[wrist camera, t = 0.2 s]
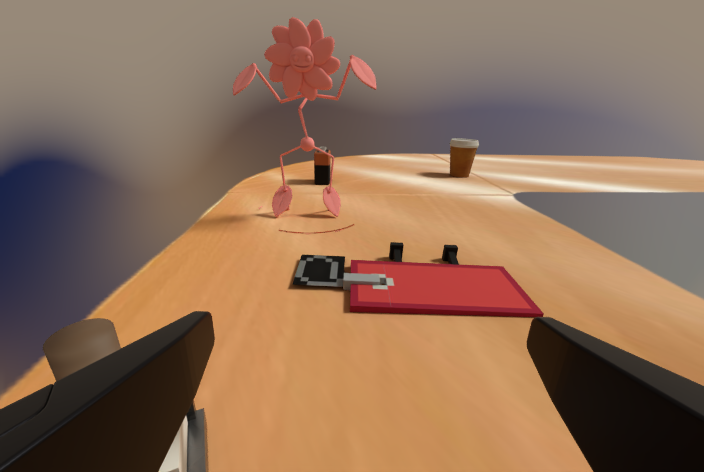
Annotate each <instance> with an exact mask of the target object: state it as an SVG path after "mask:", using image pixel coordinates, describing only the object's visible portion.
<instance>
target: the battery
mask: <svg viewBox="0 0 704 472" xmlns="http://www.w3.org/2000/svg"><path fill="white" fill-rule="evenodd" d="M319 149H321V150H323V151H325V152H327V153H328V154H330V150H325V149H326V147H320V148H319ZM314 173H315V184H319V185H328V184H329V183H330V156H328V155H326V154H325V153H323V152H321V151H319V150H316V152H315V153H314Z"/></svg>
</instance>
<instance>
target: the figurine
mask: <svg viewBox="0 0 704 472" xmlns="http://www.w3.org/2000/svg"><path fill="white" fill-rule="evenodd" d="M272 34H273V37H274V39H275V41H276V44H274V45H272V46H270V47H269V48H268V49H267V50H266V52H265V54H264V55H265V58H266V59H267V60H268V61H270V62H272V63H273V65H272V66H271V69H270V73H269V77H270V80H272V81H273V82H281V81H282V83H283V89H284V91H285V94H286V95H287V97H288V98H287V99H283V100H281V99H280V98H279V96H278V95H277V94H276V92H275V91H274V90H273V89H272V87H271V86H270V84H269V83H268V82H267V80H266V79H265V78H264V77H263V75H262V74H261V73H260V71H259V70H258V68H257V67H256V64H255V63H252V65H250V66H248V67H246V68H245V69H244V70H243V71H242V72H241V73H240V74H239V75H238V77H237V78H236V80H235V82H234V84H233V95H236V94H238V93H239V92H240V91H242V90H243V89H244V88H246V87H247V86H248V85H249V83H250V82H251V81H252V80H253V78H254V76H255V73H256V72H257V73H258V74H259V76H260V77H261V78H262V80H263V81H264V82H265V84H266V85H267V86H268V88H269V89H270V90H271V92H272V93H273V94H274V96H275V97H276V98H277V100H278V101H280V103H283V102H287V101H291V100H294V99H297V98H301V97H305V99H304V101H303V102H302V103H301V105H300V106H299V110H298V112H299V115H300V119H301V122H302V125H303V129H304V132H305V135H306V137H304V138H303V139H302V140H301V145H300V146H298V147H296V148H294V149H292V150H290V151H288V152H286V153H283V154H281V155H280V162H281V170H282V178H283V185H284V186H281V187H280V188H279V189H278V190H277V191H276V193H275V195H274V197H273V202H272V207H273V211H274V215H275V216H276V217H277V216H279V215H280V214H282V213H283V211H285V210H289V205H290V203H291V200H292V189H291V188H290V187H289V186H287V185H285V179H284V171H283V164H282V156H283V155H285V154H287V153H290V152H292V151H294V150H296V149H298V148H302V149H303V150H305V151H311V150H312V149H313V148H315V149H317V150H319V151H321V152H323V153H325V154H326V155H328V156H330V157H332V167H331V177H330V186H328V187H326V188H325V189H324V190H323V200H324V204H325V205H326V207H327V209H328V211H330V212H332V213H333V214H334V215H335V216H336V217H337V216H338V214H339V210H340V206H341V204H340V198H339V195H338V193H337V192H336V191H335V189H334V188H332V187H331V184H332V175H333V165H334V158H333V157H334V156H332V155H330V154H328V153H327V152H325V151H323V150H321V149H319V148H317V147H315V146H314V141H313V139H311V138H310V137H308V135H307V131H306V127H305V123H304V119H303V115H302V111H301V109H302V108H303V106H304V104H305V102H306V101H307V99H309V100H312V101H313V100H314V99H315V98H316V97H320V98H327V99H333V100H338V98H339V97H340V95H341V92H342V89H343V87H344V84H345V81H346V78H347V76H348V73H349V70H350V67H351V68H352V70H353V72H354V74H355V75H356V76H357V77H358V78H359V79H360V80H361V81H362V82H363V83H364V84H366V85H368V86H369V87H371V88H373V89H375V90H376V79H375V76H374V73H373V72H372V70H371V69H370V67H369V66H368V65H367V64H366V63H365V62H364V61H362V60H361V59H360V58H357V57H355V56H354V55H351V56H350V62H349V64H348V67H347V70H346V73H345V75H344V78H343V81H342V84H341V87H340V89H339V92H338V95H337V97H338V98H337V97H333V96H326V95H320V94H317V89H320V90H329V89H331V88H332V79H331V78H330V77H329V76H328V75H330V74H332V73H334V72H335V71H336V70H338V69H339V67H340V61H339V60H338V59H337V58H335V57H333V56H331V54H332V52H333V50H334V44H335V43H334V39H333V38H332V37H331V36H330V37H325V38H323V29H322V26H321V23H320V22H319V21H318V20H316V19H313V20H312V21H311V22H310V23H309V25H308V26H307V28H306V27H305V25H304V24H303V22H301V21H300V20H299V19H297V18H294V17H292V18H291V19H289V28H287V27H285V26H276V27H274V28H273V29H272ZM298 91H300V92H301V93H302V94H301V95H298V96H296V95H297V93H298ZM261 207H262V206H261ZM261 207H260V208H261ZM276 213H277V214H276ZM353 225H354V224H353ZM351 226H352V225H351ZM349 227H350V226H349ZM346 228H348V227H346ZM342 229H345V228H342ZM338 230H339V231H340V230H341V229H338ZM279 231H283V230H279ZM334 231H335V232H337V230H334ZM284 232H289V231H284ZM327 232H332V231H327ZM292 233H302V232H292ZM316 233H325V232H316Z"/></svg>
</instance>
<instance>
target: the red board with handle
mask: <svg viewBox="0 0 704 472" xmlns="http://www.w3.org/2000/svg"><path fill="white" fill-rule="evenodd" d="M457 251H458V247H457V246H456V245H444V250H443V255H442V259H443V261H449V264H433V263H411V262H402V253H403V243H394V242H391V244H390V253H389V258H390V259H394V262H388V261H365V260H351V273H344V264H345V257H343V256H321V255H302V256H301V259H300V262H299V265H298V268H297V272H296V275H295V278H294V281H293V285H316V286H340V287H343V290H350V312H372V313H408V314H443V315H479V316H514V317H543V312H542V311H541V310H540V309H539V308H538V307H537V305H536V304H535V303H534V302H533V301H532V300H531V299H530V297H529V296H528V295H527V294H526V293H525V292H524V290H523V289H522V288H521V287H520V286H519V285H518V283H517V282H516V281H515V280H514V279H513V278H512V277H511V275H510V274H509V273H508V272H507V271H506V270H505V268H504V267H502V266H479V265H459V264H458V261H457V258H456V256H457ZM380 284H385V285H380Z"/></svg>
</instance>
